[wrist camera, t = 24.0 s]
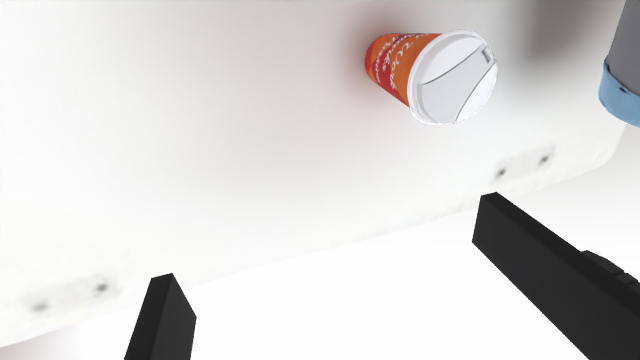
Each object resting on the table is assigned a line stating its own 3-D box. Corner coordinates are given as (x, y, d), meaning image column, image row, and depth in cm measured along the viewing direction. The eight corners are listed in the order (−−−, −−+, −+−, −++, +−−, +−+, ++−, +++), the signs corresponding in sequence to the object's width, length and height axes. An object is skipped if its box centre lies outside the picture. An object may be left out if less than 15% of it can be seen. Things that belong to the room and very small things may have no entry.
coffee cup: (390, 7, 35) (474, 5, 22) (428, 56, 39) (518, 77, 26) (342, 64, 37) (395, 92, 24) (383, 105, 41) (446, 148, 28)
